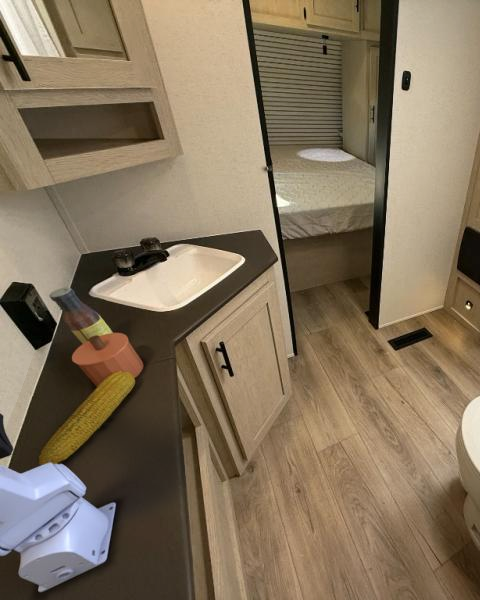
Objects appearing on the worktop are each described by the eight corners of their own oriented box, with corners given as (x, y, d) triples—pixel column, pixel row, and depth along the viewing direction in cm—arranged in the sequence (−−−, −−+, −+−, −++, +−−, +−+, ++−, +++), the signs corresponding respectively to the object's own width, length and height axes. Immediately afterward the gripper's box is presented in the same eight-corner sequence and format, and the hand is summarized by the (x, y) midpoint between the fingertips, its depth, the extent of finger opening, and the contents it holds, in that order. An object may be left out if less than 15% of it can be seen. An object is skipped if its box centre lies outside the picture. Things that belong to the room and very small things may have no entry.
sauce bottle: (126, 341, 89) (86, 282, 77) (116, 357, 84) (71, 297, 72) (99, 345, 88) (54, 285, 76) (87, 362, 83) (37, 300, 71)
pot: (141, 379, 78) (124, 355, 73) (91, 395, 74) (69, 370, 69) (145, 354, 85) (129, 330, 80) (99, 367, 81) (80, 342, 76)
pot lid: (126, 357, 73) (117, 345, 71) (69, 374, 69) (57, 361, 67) (132, 331, 81) (124, 318, 78) (80, 344, 77) (70, 331, 74)
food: (121, 383, 77) (108, 366, 74) (144, 384, 77) (132, 367, 74) (39, 472, 60) (18, 456, 57) (68, 473, 60) (48, 457, 57)
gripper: (-50, 434, 42) (21, 482, 50) (-5, 362, 52) (48, 411, 60) (-133, 459, 39) (-43, 506, 47) (-68, 378, 49) (-4, 428, 57)
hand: (4, 454), depth 53 cm, fingers closed
